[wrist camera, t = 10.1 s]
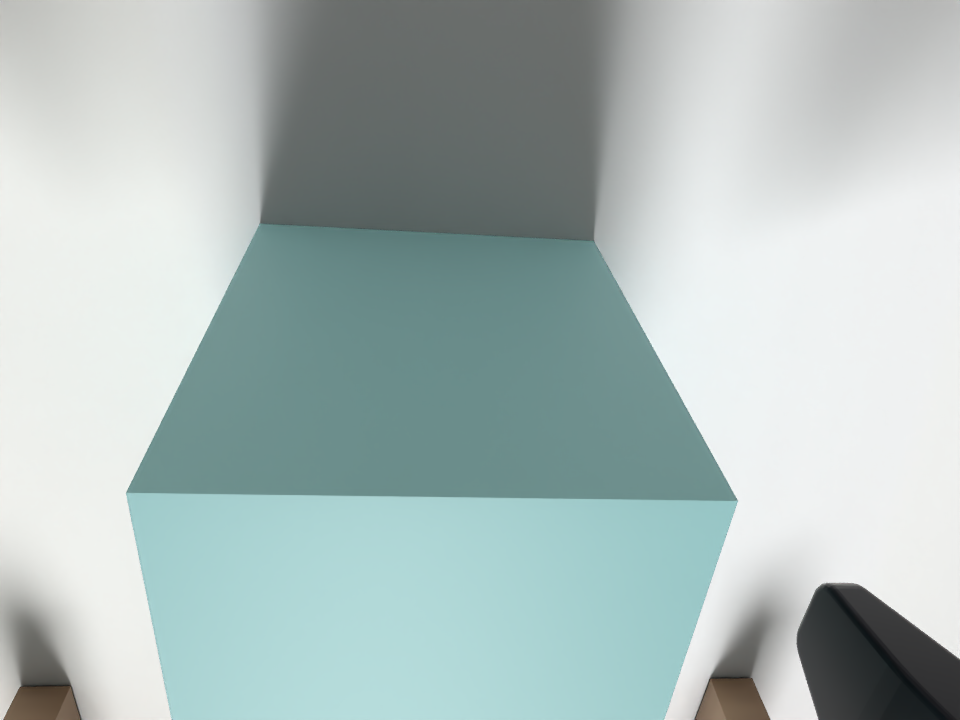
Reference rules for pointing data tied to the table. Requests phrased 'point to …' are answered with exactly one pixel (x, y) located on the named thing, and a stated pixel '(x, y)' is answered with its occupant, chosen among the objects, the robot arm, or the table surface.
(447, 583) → the teal block
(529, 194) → the table surface
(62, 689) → the wooden u-shaped frame
